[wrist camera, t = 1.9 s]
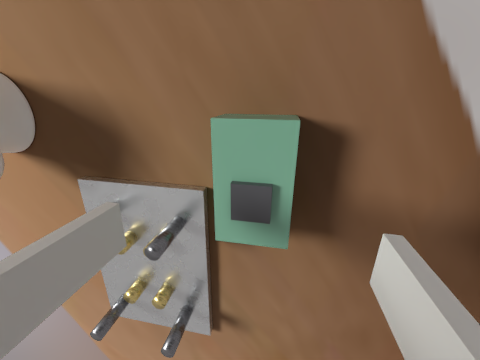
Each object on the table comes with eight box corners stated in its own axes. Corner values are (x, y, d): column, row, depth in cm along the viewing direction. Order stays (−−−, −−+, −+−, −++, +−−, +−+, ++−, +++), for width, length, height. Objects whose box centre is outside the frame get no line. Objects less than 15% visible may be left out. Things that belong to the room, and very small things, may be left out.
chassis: (85, 176, 24) (26, 199, 19) (206, 186, 22) (180, 217, 16) (118, 308, 31) (82, 353, 26) (212, 327, 29) (195, 382, 23)
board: (226, 113, 19) (207, 118, 15) (297, 115, 18) (301, 121, 14) (228, 214, 23) (213, 244, 18) (287, 220, 22) (287, 254, 17)
